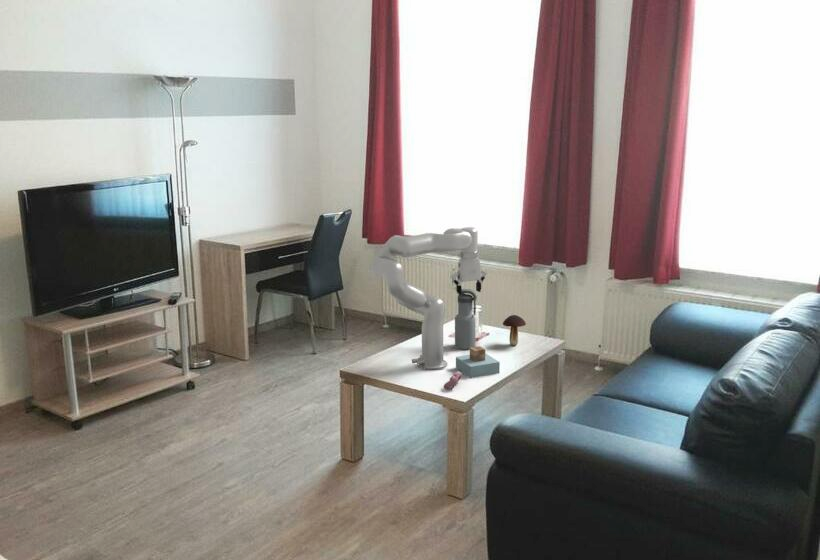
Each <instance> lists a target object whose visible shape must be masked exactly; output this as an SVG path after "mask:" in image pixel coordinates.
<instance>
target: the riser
mask: <svg viewBox="0 0 820 560" xmlns="http://www.w3.org/2000/svg"><path fill="white" fill-rule="evenodd" d="M500 364H501V363H500V361H499V360H497V359H496V358H494V357H493V356H490V355H489V354H487V353H486V352H485V360H484V361H478V362H474V361H473V360H471V359H470V354H465V355H459V356H455V368H456V369H457V370H458V371H459V372H460V373H462V374H464V375H466V376H467V377H468V376H469V378H470V379H473V378H478V377H484V376H490V375H496V374H500ZM472 377H473V378H472Z"/></svg>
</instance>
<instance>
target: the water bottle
mask: <svg viewBox="0 0 820 560" xmlns="http://www.w3.org/2000/svg"><path fill="white" fill-rule="evenodd" d="M477 297H478V296H477V293H476V291H474V290H473V289H471V288H462V294H458V295H457V304H458V305H457V311H458V312H457V313H458V314H456V315H455V316H454V346H455V348H457V349H459V350H470V347H476V310H477V307H476V306H477V305H476V304H477V299H478V298H477Z"/></svg>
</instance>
